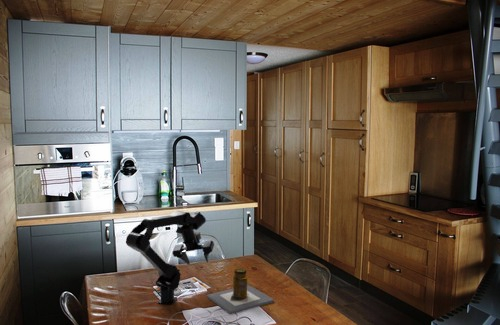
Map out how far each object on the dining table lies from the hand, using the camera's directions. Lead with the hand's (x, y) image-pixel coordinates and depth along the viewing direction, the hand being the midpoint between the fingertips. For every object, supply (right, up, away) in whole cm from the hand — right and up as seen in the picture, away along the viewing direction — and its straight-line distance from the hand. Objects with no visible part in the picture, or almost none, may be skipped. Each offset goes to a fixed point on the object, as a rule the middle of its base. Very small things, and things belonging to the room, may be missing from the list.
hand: (198, 262), depth 194 cm
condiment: (+20, -12, -13) cm, 26 cm away
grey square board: (+20, -13, -12) cm, 27 cm away
